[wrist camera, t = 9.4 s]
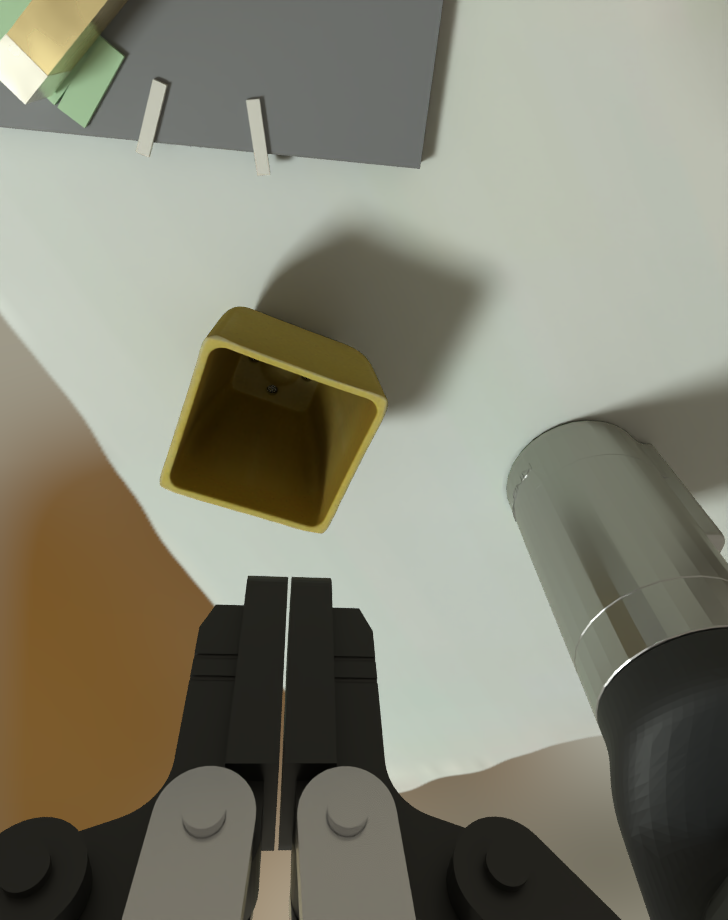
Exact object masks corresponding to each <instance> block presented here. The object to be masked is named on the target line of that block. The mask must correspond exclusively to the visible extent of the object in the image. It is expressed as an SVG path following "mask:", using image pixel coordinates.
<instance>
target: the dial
mask: <svg viewBox="0 0 728 920" xmlns="http://www.w3.org/2000/svg"><path fill="white" fill-rule="evenodd" d="M127 1H128V0H32V1H31V2H30V3H29V5H28V6H27V7H26V9H25V10H24V11H23V13H22V14H21V15H20V17H19V18H18V19H17V21H16V22H15V23H14V25H13V26H12V27H11V29H10V30H9V31H8V33H7V34H5V35H4V37H3V38H2V39H1V41H0V81H1V82H2V83H3V84H4V85H5V86H6V87H8V88H9V89H10V90H11V91H12V92H13V93H14V94H15V95H16V96H17V97H18V98H19V99H20V100H21V101H22V102H23V103H24V104H28V103H31V102H35V101H38V100H41V99H45V98H48V97H51V96H52V95H53V93H54V92H55V91H56V90H57V88H58V87H59V86H60V85H61V84H62V82H63V81H64V80H65V79H66V77H67V76H68V75H69V74H70V72H71V71H72V69H73V68H74V67H75V65H76V64H77V63H78V62H79V60H80V59H81V58H82V57H83V55H84V54H85V53H86V52H87V51H88V49H89V48H90V47H91V46H92V44H93V43H94V42H95V41H96V39H97V38H98V37H99V36H100V35H101V33H102V32H103V31H104V30H105V28H106V27H107V26H108V25H109V23H110V22H111V21H112V20H113V18H114V17H115V16H116V15H117V14H118V12H119V11H120V10H121V9H122V7H123V6H124V5H125V4H126V2H127Z"/></svg>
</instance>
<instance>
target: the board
mask: <svg viewBox="0 0 728 920" xmlns="http://www.w3.org/2000/svg"><path fill="white" fill-rule="evenodd" d="M31 1H32V0H0V41H1V39H2V38H3V37H4V35H5V34H7V33H8V31H9V30H10V29H11V27H12V26H13V25H14V23H15V22H16V21H17V19H18V18H19V17H20V15H21V14H22V13H23V11H24V10H25V9H26V7H27V6H28V5H29V3H30V2H31ZM442 5H443V0H128V1H127V2H126V4H125V5H124V6H123V7H122V9H121V10H120V11H119V12H118V14H117V15H116V16H115V17H114V18H113V20H112V21H111V22H110V23H109V25H108V26H107V27H106V28H105V30H104V31H103V32H102V33H101V35H100V36H99V37H98V38H97V39H96V41H95V42H94V43H93V44H92V46H91V47H90V48H89V49H88V51H87V52H86V53H85V54H84V55H83V57H82V58H81V59H80V60H79V62H78V63H77V64H76V65H75V67H74V68H73V69H72V71H71V72H70V74H69V75H68V76H67V77H66V79H65V80H64V81H63V82H62V84H61V85H60V86H59V87H58V88H57V90H56V91H55V92H54V93H53V95H52V96H51V97H48V98H45V99H41V100H38V101H35V102H31V103H28V104H24V103H23V102H22V101H21V100H20V99H19V98H18V97H17V96H16V95H15V94H14V93H13V92H12V91H11V90H10V89H9V88H8V87H6V86H5V85H4V84H3V83H2V82H1V81H0V127H5V128H15V129H25V130H35V131H45V132H55V133H65V134H75V135H85V136H95V137H106V138H116V139H126V140H136V141H138V145H137V149H136V152H137V153H139V154H142V155H144V156H146V157H150V154H151V150H152V146H153V142H156V143H166V144H176V145H186V146H196V147H206V148H216V149H226V150H236V151H246V152H254V156H255V163H256V170H257V176H263V175H270V168H269V161H268V154H276V155H286V156H297V157H307V158H317V159H327V160H337V161H347V162H357V163H367V164H377V165H387V166H397V167H407V168H417V169H420V164H421V157H422V150H423V143H424V135H425V128H426V121H427V114H428V106H429V99H430V92H431V85H432V78H433V70H434V63H435V56H436V49H437V41H438V34H439V27H440V20H441V13H442Z"/></svg>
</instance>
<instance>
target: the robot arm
mask: <svg viewBox="0 0 728 920" xmlns="http://www.w3.org/2000/svg"><path fill="white" fill-rule="evenodd" d="M506 490H507V498H508V501H509V504H510V506H511V509H512V512H513V516H514V519H515V521H516V522H517V524H518V527H519V529H520V532H521V534H522V537H523V540H524V542H525V545H526V547H527V550H528V552H529V555H530V557H531V560H532V562H533V565H534V567H535V570H536V572H537V575H538V577H539V580H540V582H541V585H542V587H543V590H544V592H545V595H546V597H547V600H548V602H549V604H550V607H551V609H552V612H553V614H554V617H555V619H556V622H557V624H558V627H559V629H560V632H561V634H562V637H563V639H564V642H565V644H566V647H567V649H568V652H569V654H570V657H571V659H572V662H573V664H574V667H575V669H576V672H577V673H578V676H579V679H580V681H581V684H582V686H583V688H584V691H585V693H586V696H587V698H588V701H589V703H590V706H591V708H592V711H593V713H594V716H595V718H596V721H597V723H598V725H599V728H600V730H601V733H602V735H603V738H604V740H605V743H606V746H607V750H608V754H609V761H610V776H611V788H612V796H613V802H614V808H615V813H616V816H617V820H618V824H619V827H620V830H621V833H622V837H623V840H624V842H625V846H626V849H627V852H628V855H629V857H630V860H631V863H632V866H633V869H634V872H635V875H636V878H637V881H638V884H639V887H640V890H641V893H642V896H643V899H644V902H645V905H646V908H647V911H648V914H649V917H650V920H728V563H727V562H726V560H725V559H724V558H723V557H722V555H721V554H720V552H721V550H722V548H723V546H724V544H725V539H724V536H723V534H722V532H721V531H720V530H719V529H718V527H717V526H716V525H715V524H714V522H713V521H712V520H711V519H710V517H709V516H708V515H707V514H706V512H705V511H704V510H703V509H702V507H701V506H700V505H699V503H698V502H697V501H696V500H695V498H694V497H693V496H692V495H691V493H690V492H689V491H688V490H687V488H686V487H685V486H684V485H683V483H682V482H681V481H680V479H679V478H678V477H677V476H676V474H675V473H674V472H673V471H672V469H671V468H670V467H669V466H668V464H667V463H666V462H665V461H664V459H663V458H662V457H661V455H660V454H659V453H658V452H657V450H656V449H655V448H654V447H653V445H651V444H642V443H638V442H637V441H636V440H634V439H633V438H632V437H631V436H630V435H629V434H628V433H627V432H626V431H624V430H623V429H621V428H619V427H617V426H615V425H612V424H609V423H605V422H601V421H579V422H572V423H568V424H565V425H562V426H558V427H556V428H554V429H552V430H550V431H548V432H546V433H544V434H542V435H541V436H539V437H538V438H536V439H535V440H534V441H532V442H531V443H530V444H529V445H528V446H527V447H526V448H525V449H524V450H523V451H522V452H521V453H520V454H519V456H518V457H517V459H516V460H515V462H514V463H513V465H512V468H511V470H510V473H509V475H508V480H507V487H506ZM287 589H288V577H270V576H248V579H247V586H246V594H245V602H244V605H215V607H214V608H213V609H212V611H211V612H210V614H209V615H208V617H207V618H206V619H205V620H204V622H203V623H202V624H201V626H200V627H199V633H198V638H197V643H196V649H195V656H194V659H193V664H192V670H191V675H190V681H189V685H188V691H187V696H186V701H185V706H184V712H183V717H182V722H181V727H180V733H179V738H178V744H177V749H176V754H175V759H174V763H173V767H172V770H171V772H170V775H169V777H168V779H167V781H166V782H165V784H164V785H163V787H162V788H161V789H160V791H159V792H158V793H157V794H156V795H155V796H154V797H153V798H152V799H151V800H150V801H149V802H148V803H146V804H145V805H143V806H142V807H141V808H139V809H138V810H136V811H134V812H132V813H130V814H128V815H126V816H123V817H121V818H118V819H115V820H112V821H109V822H106V823H103V824H100V825H97V826H94V827H91V828H88V829H85V830H82V831H78V830H77V829H76V828H75V827H74V826H73V825H71V824H70V823H68V822H66V821H64V820H62V819H58V818H53V817H40V818H34V819H29V820H26V821H23V822H21V823H18V824H15V825H13V826H11V827H10V828H8V829H6V830H4V831H3V832H2V833H0V920H252V916H253V910H254V908H255V905H256V901H257V898H258V891H259V877H260V861H261V851H271V850H272V851H274V842H275V825H276V824H275V823H276V807H277V789H278V772H279V753H280V731H281V711H282V691H283V671H284V650H285V630H286V609H287ZM284 713H285V714H284V735H283V736H284V737H283V758H282V781H281V782H282V783H281V804H280V826H279V848H278V850H292V854H291V888H290V899H289V920H621V919H620V918H619V917H618V916H617V915H616V914H615V913H614V912H613V911H612V910H611V909H610V908H609V907H608V906H607V905H606V904H605V903H604V902H603V901H602V900H601V899H600V898H599V897H598V896H597V895H596V894H595V893H594V892H593V891H592V890H591V889H590V888H589V887H587V885H586V884H585V883H584V882H583V881H582V880H580V878H579V877H577V875H576V874H574V873H573V872H572V871H571V870H570V869H569V868H568V867H567V866H566V865H565V864H564V863H563V862H562V861H561V860H560V859H559V858H558V857H557V856H556V855H555V854H554V853H553V852H552V851H551V850H550V849H549V848H548V847H547V846H546V845H545V844H544V843H543V842H542V841H541V840H540V839H539V838H538V837H537V836H536V835H535V834H534V833H533V832H531V831H530V830H529V829H528V828H526V827H525V826H523V825H521V824H520V823H518V822H515V821H513V820H510V819H507V818H503V817H486V818H482V819H478V820H477V821H474V822H473V823H471V824H470V825H468V826H467V827H466V828H464V827H461V826H458V825H455V824H452V823H450V822H447V821H444V820H441V819H438V818H435V817H432V816H430V815H427V814H425V813H423V812H420V811H419V810H417V809H415V808H414V807H412V806H411V805H410V804H409V803H407V802H406V801H405V800H404V799H403V798H402V797H401V796H400V795H399V793H398V792H397V791H396V789H395V788H394V786H393V785H392V783H391V781H390V779H389V776H388V773H387V770H386V765H385V758H384V747H383V736H382V725H381V715H380V704H379V693H378V683H377V672H376V662H375V651H374V640H373V631H372V629H371V627H370V626H369V624H368V623H367V621H366V619H365V618H364V616H363V614H362V613H361V611H360V609H359V608H332V582H331V578H306V577H292V579H291V595H290V612H289V629H288V647H287V667H286V690H285V712H284Z"/></svg>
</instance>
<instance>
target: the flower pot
mask: <svg viewBox="0 0 728 920" xmlns="http://www.w3.org/2000/svg"><path fill="white" fill-rule="evenodd" d="M250 357H251V358H254V359H256V360H257V361H253V360H252V359H251V358H250ZM303 377H307V378H309V379H307V380H306V379H304V378H303ZM270 385H274V386H276V387H277V391H276V392H274V393H270V392H269V391H268V389H267V388H268V386H270ZM387 407H388V401H387V398H386V396H385V394H384V392H383V389H382V387H381V385H380V383H379V381H378V378H377V376H376V374H375V372H374V370H373V368H372V366H371V364H370V363H369V361H368V360H367V359H366V357H365V356H364V355H362V354H361V353H360V352H359V351H357V350H356V349H354V348H352V347H350V346H348V345H345V344H343V343H340V342H337V341H335V340H332V339H329V338H327V337H324V336H321V335H319V334H316V333H313V332H311V331H308V330H305V329H302V328H300V327H297V326H295V325H292V324H289V323H287V322H284V321H281V320H279V319H276V318H273V317H271V316H268V315H266V314H263V313H261V312H258V311H256V310H253V309H250V308H246V307H234V308H232V309H230V310H228V311H227V312H226V313H225V314H224V315H223V316H222V317H221V318H220V320H219V321H218V322H217V324H216V325H215V326H214V328H213V329H212V330H211V332H210V333H209V334H208V336H207V337H206V338H205V340H204V341H203V343H202V346H201V349H200V353H199V356H198V360H197V363H196V366H195V370H194V373H193V376H192V379H191V383H190V386H189V389H188V393H187V396H186V399H185V402H184V405H183V408H182V411H181V414H180V418H179V421H178V424H177V427H176V430H175V433H174V436H173V439H172V442H171V446H170V449H169V452H168V455H167V458H166V461H165V464H164V467H163V470H162V473H161V477H160V485H161V487H163V488H165V489H167V490H169V491H172V492H174V493H177V494H181V495H184V496H187V497H190V498H193V499H196V500H200V501H203V502H207V503H211V504H214V505H218V506H221V507H225V508H228V509H231V510H234V511H238V512H242V513H246V514H249V515H253V516H256V517H259V518H263V519H266V520H269V521H273V522H277V523H280V524H283V525H286V526H289V527H293V528H296V529H300V530H304V531H309V532H314V533H324V532H325V531H326V530H327V528H328V527H329V525H330V523H331V521H332V519H333V517H334V515H335V513H336V511H337V509H338V506H339V504H340V502H341V500H342V498H343V496H344V494H345V492H346V490H347V488H348V486H349V484H350V482H351V480H352V478H353V476H354V474H355V472H356V470H357V468H358V466H359V464H360V462H361V460H362V458H363V456H364V454H365V452H366V450H367V448H368V447H369V445H370V443H371V441H372V439H373V437H374V435H375V433H376V431H377V429H378V427H379V426H380V424H381V422H382V420H383V417H384V415H385V413H386V410H387Z"/></svg>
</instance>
